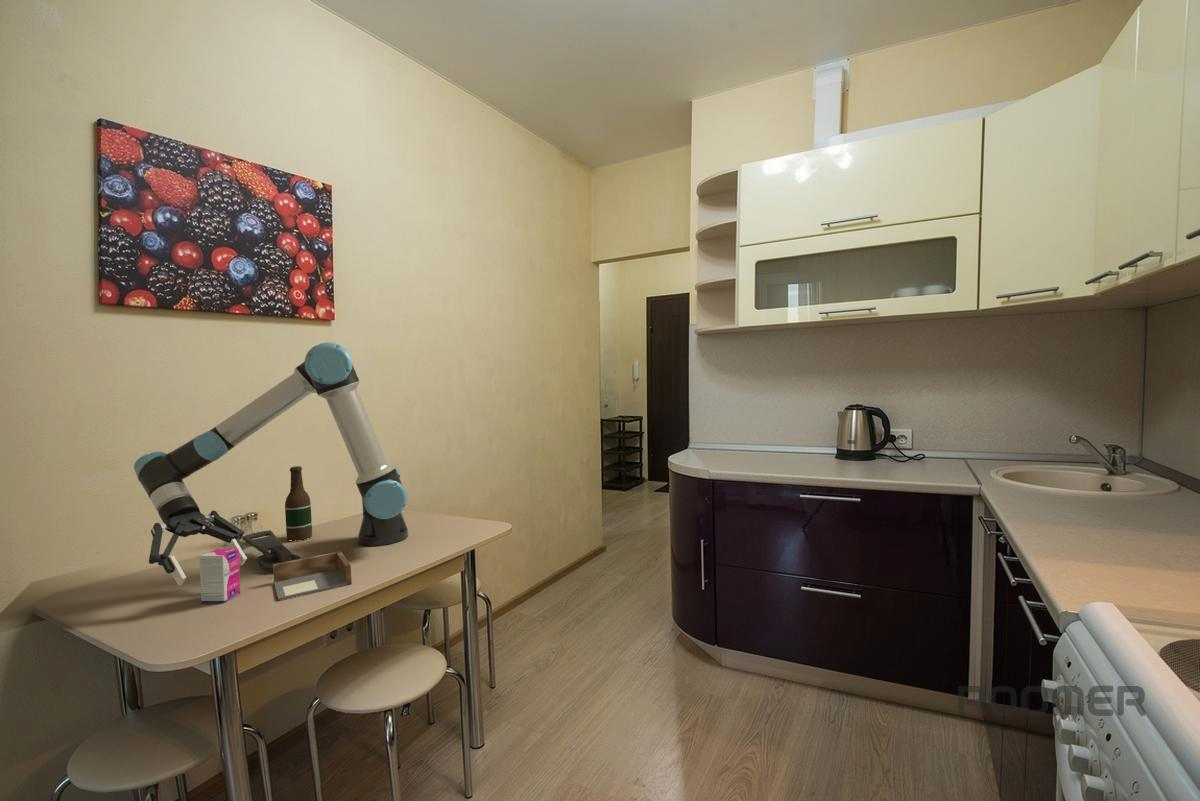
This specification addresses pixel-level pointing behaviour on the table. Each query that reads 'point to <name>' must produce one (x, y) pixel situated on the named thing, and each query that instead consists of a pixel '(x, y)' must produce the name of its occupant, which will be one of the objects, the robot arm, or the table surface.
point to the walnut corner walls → (313, 567)
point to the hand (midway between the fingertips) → (214, 571)
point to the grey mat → (309, 584)
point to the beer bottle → (298, 508)
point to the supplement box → (219, 575)
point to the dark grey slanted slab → (269, 543)
